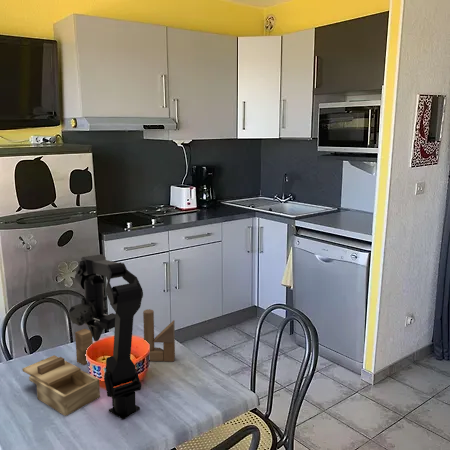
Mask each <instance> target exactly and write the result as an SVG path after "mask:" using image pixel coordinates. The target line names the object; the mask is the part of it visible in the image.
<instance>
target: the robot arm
mask: <svg viewBox="0 0 450 450" xmlns="http://www.w3.org/2000/svg"><path fill="white" fill-rule="evenodd" d="M102 276H103V277H106V280H107V282H106V286H105V289H104V284H105V280H104V278H103V277H102ZM121 277H122V279H123V280H125V282H127V283H125V284H119V285H114V286H111V283H110V282H111V280H112V279H116V278H121ZM74 281H75V283H76V284H77V285H78V286H79V287H80V288H81V289H82V290H84V297H83V298H81V303H79V304H75V305H73V306H71V307H70V309H69V313H68V316H69V319H70V321H71V323H72V324H75V325H77V326H79V327H80V326H83V325H84V324H85V325H86V326H87V327H88V330H90V331H91V334H92V340H93V341H94V342H99V340H100V338H101V335H102V334H103V332H104V330H106V331H107V330H108V331H109V330H111V329H114V331H113V332H114V333H113V335H114V336H113V352H112V356H108V357H107V358H106V360H105V372H104V376H103V381H104V385H105V390H106V396H107V398H111V399H112V400H111V403H112V407H111V408H109V409H108V412H109V413H110V414H112V415H113V416H116V417H118V418H120V419H121V420H125V419H127V418H128V417H130V416H132V415H133V414H135V413H136V412H138V411H140V410H141V407H140V406H138V405H137V403H136V402H137V401H136V392H138V391H141V390H142V382H141V380H140V377H139V373H138V371H137V368H136V365H135V363H134V362H133V361H132V360H133V359H131V354H132V343H133V328H134V316H135V315H136V313H137V312H138V311H139V310H140V308H141V306H142V300H143V297H144V292H143V291H144V290H143V287H142V285H141V283H140V281H139V278H138V277H137V276H136V275H134V274H133V273H132V272H131V271H129V270H128V268H127V267H126V265H125V263H124V262H117V261H112V260H108V259H107V258H106V256H104V255H103V254H101V253H100V254H94V255H93V254H92V255H87V256H86V255H85V256H81V258H80V260H79V262H78V265H77V268H76V270H75V276H74ZM104 291H105V294H106V295H105V294H104ZM107 300H108V302H109V305H110V307H112V310H114V312H115V313H114V312H112V313H109V314H106V313H108V308H107V307H105V301H107Z"/></svg>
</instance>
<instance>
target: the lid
mask: <svg viewBox="0 0 450 450" xmlns="http://www.w3.org/2000/svg"><path fill="white" fill-rule="evenodd" d="M21 370H22V372H24V373H26V374H27V375H29V377H30V376H32V377H34V378H36V379H37V380H39V381H41V382H42V383H44V384H46V385H48V386H50V385H52V384H54V383H56V382H59V381H61V380H63V379H65V378H67V377H69V376H71V375H73V374H75V373H78V372H80V371H81V370H82V368H80V367H78V366H76V365H74V364H73V363H70V362H69V361H66V360H65V358H64V357H62V356H60V357H58V356H56V355H55V354H54V355H51V356H48V357H47V358H44V359H42V360H39V361H38V362H35V363H32V364H30V365H28V366H25V367H22V369H21Z"/></svg>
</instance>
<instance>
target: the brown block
mask: <svg viewBox="0 0 450 450" xmlns="http://www.w3.org/2000/svg"><path fill="white" fill-rule="evenodd" d="M74 336H75V354H76V356H75V357H76V362H77V363H78V364H80V365H82V366H86V365H88V364H87V361H86V356H85V354H86V350H87V348H88V347H89V346H90V345H91V344H93V345H94V343H93V341H94V339H93V336H92V334H91V331H90V329H88V328H83V329H80V330H77V331H75V332H74Z"/></svg>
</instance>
